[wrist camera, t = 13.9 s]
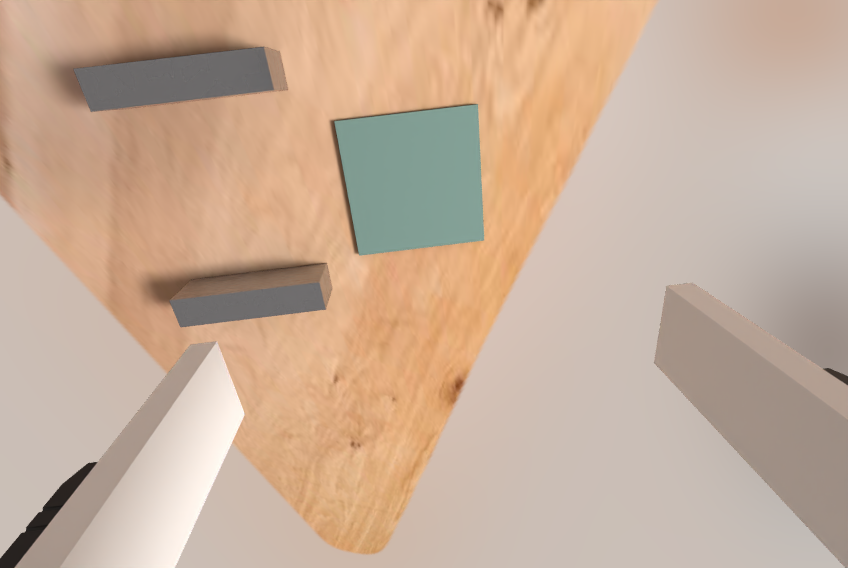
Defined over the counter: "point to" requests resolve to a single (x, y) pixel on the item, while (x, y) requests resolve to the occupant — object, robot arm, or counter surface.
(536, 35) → the counter surface
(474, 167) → the mat
